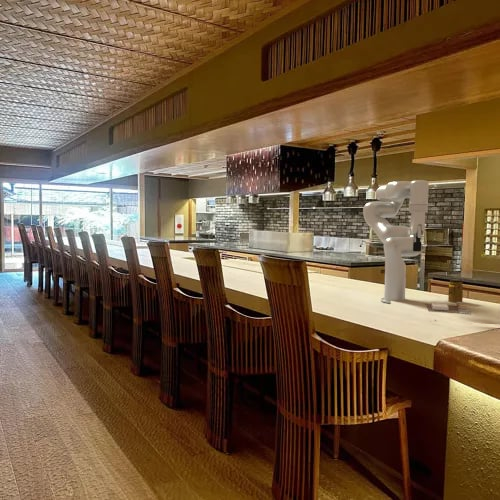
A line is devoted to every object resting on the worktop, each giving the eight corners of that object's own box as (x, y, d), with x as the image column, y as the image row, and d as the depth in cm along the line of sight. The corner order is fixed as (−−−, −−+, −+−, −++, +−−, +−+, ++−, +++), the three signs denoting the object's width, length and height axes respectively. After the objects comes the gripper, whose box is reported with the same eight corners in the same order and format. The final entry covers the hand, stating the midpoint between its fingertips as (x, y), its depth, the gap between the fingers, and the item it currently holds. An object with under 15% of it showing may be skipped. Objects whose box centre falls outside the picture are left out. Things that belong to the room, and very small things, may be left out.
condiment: (444, 303, 208) (445, 278, 207) (462, 303, 208) (463, 278, 207) (451, 306, 200) (452, 280, 200) (470, 306, 200) (471, 280, 200)
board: (424, 307, 198) (425, 303, 198) (463, 309, 193) (463, 306, 193) (428, 315, 181) (428, 311, 181) (471, 317, 176) (471, 314, 176)
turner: (454, 305, 193) (454, 301, 193) (464, 306, 192) (464, 302, 192) (460, 313, 177) (460, 308, 177) (471, 314, 176) (471, 309, 176)
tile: (431, 303, 190) (433, 305, 184) (446, 303, 189) (448, 306, 182) (431, 306, 191) (432, 309, 184) (446, 307, 189) (448, 310, 182)
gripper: (407, 209, 196) (405, 250, 198) (411, 208, 182) (410, 252, 183) (424, 209, 195) (423, 250, 196) (430, 208, 180) (429, 252, 181)
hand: (417, 251), depth 190 cm, fingers closed
